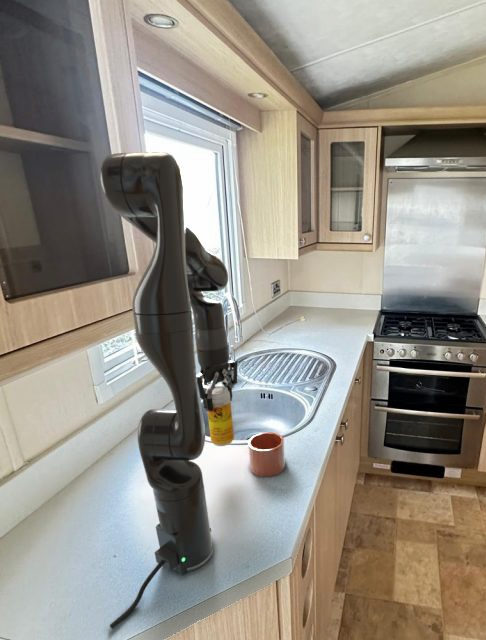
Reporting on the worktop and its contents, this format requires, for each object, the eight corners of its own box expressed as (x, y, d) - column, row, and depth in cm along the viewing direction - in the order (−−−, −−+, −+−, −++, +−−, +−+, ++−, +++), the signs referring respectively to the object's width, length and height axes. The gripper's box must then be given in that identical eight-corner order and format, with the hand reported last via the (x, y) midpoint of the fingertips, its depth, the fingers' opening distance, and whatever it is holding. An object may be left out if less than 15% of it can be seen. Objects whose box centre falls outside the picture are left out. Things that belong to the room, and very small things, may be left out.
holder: (270, 480, 108) (268, 454, 105) (243, 469, 112) (240, 444, 110) (291, 462, 115) (290, 437, 112) (265, 452, 120) (263, 429, 117)
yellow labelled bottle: (211, 448, 106) (205, 396, 101) (211, 437, 111) (204, 387, 106) (235, 445, 107) (230, 393, 102) (233, 434, 113) (228, 384, 108)
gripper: (222, 335, 107) (227, 393, 113) (178, 349, 96) (187, 413, 102) (243, 338, 104) (248, 398, 110) (200, 354, 92) (208, 420, 98)
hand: (218, 405), depth 106 cm, fingers closed on yellow labelled bottle, 6 cm apart
